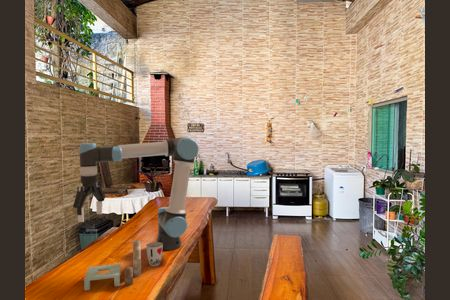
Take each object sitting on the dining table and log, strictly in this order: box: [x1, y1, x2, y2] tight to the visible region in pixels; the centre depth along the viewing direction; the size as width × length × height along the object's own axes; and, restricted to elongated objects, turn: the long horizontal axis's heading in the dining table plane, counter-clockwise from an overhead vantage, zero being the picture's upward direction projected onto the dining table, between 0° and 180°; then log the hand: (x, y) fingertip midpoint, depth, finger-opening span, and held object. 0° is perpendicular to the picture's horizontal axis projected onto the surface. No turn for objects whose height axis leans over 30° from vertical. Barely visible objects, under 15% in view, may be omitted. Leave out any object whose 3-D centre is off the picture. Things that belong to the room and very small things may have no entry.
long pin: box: [132, 239, 142, 277], centre depth 144 cm, size 3×3×16 cm
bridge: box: [83, 263, 122, 291], centre depth 138 cm, size 14×12×5 cm
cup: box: [146, 241, 163, 267], centre depth 156 cm, size 8×8×10 cm
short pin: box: [124, 266, 134, 286], centre depth 136 cm, size 3×3×7 cm
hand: (90, 217), depth 151 cm, fingers open, 13 cm apart
